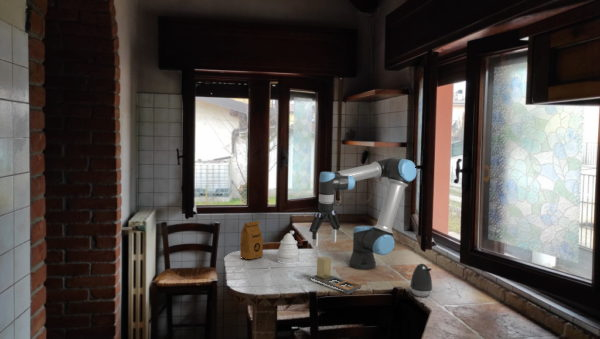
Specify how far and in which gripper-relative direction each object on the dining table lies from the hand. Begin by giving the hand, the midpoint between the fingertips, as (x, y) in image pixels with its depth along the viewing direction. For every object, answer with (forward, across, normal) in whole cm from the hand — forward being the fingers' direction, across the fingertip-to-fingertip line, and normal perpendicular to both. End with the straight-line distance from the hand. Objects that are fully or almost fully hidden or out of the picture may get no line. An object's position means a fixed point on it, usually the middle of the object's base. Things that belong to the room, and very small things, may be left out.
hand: (324, 243), depth 236 cm
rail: (+20, 0, +8) cm, 21 cm away
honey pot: (+20, -9, -37) cm, 43 cm away
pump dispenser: (+20, -22, +44) cm, 53 cm away
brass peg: (+20, 0, 0) cm, 20 cm away
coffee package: (+20, +4, -55) cm, 59 cm away
